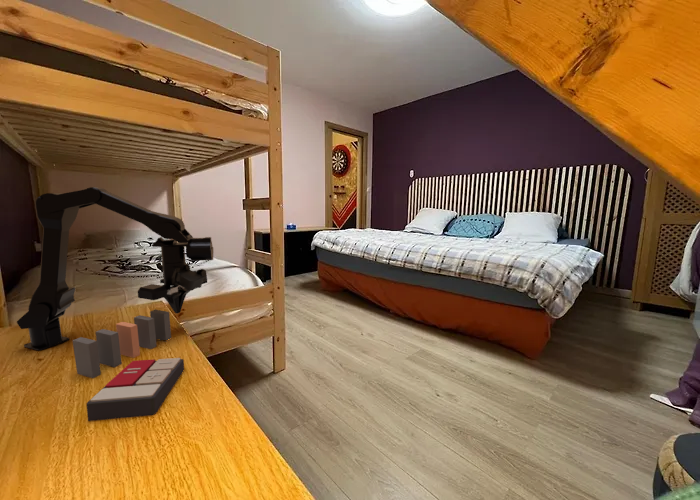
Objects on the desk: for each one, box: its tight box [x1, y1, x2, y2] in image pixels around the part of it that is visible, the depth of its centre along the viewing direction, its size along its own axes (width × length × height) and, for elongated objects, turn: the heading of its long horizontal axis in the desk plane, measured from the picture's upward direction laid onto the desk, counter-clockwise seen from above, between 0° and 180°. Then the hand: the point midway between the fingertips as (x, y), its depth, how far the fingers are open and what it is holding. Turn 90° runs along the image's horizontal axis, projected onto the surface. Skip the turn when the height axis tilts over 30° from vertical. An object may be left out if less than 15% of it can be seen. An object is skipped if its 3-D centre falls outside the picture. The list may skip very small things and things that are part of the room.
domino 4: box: [133, 314, 157, 350], centre depth 78 cm, size 5×2×8 cm, turn 72°
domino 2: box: [95, 328, 122, 368], centre depth 69 cm, size 5×2×8 cm, turn 72°
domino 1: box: [72, 336, 102, 379], centre depth 65 cm, size 5×2×8 cm, turn 72°
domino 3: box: [115, 321, 141, 358], centre depth 74 cm, size 5×2×8 cm, turn 72°
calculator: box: [86, 357, 185, 422], centre depth 60 cm, size 11×4×15 cm
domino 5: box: [149, 308, 172, 341], centre depth 82 cm, size 5×2×8 cm, turn 72°
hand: (177, 313), depth 87 cm, fingers closed
